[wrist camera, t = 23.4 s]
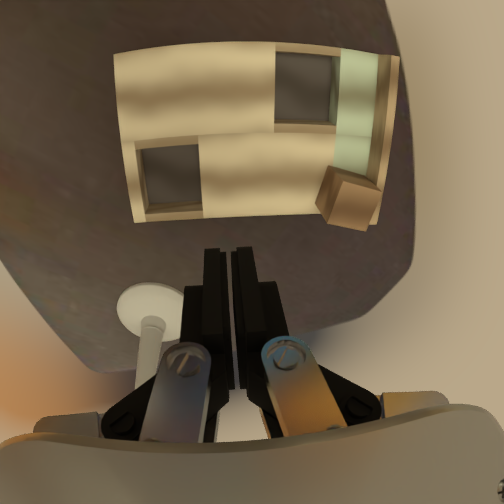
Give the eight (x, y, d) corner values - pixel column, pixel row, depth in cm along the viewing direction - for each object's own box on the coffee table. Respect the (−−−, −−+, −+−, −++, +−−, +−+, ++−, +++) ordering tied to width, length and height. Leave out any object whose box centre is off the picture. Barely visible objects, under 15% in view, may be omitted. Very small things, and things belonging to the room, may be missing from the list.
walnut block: (327, 165, 34) (343, 181, 30) (364, 175, 36) (382, 192, 31) (314, 203, 37) (327, 223, 33) (350, 211, 38) (365, 231, 34)
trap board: (121, 54, 27) (103, 54, 22) (374, 55, 30) (399, 56, 25) (139, 211, 39) (128, 235, 34) (358, 202, 41) (376, 224, 36)
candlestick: (207, 328, 52) (212, 508, 27) (142, 344, 53) (123, 506, 28) (173, 272, 44) (152, 486, 20) (103, 294, 46) (54, 477, 21)
